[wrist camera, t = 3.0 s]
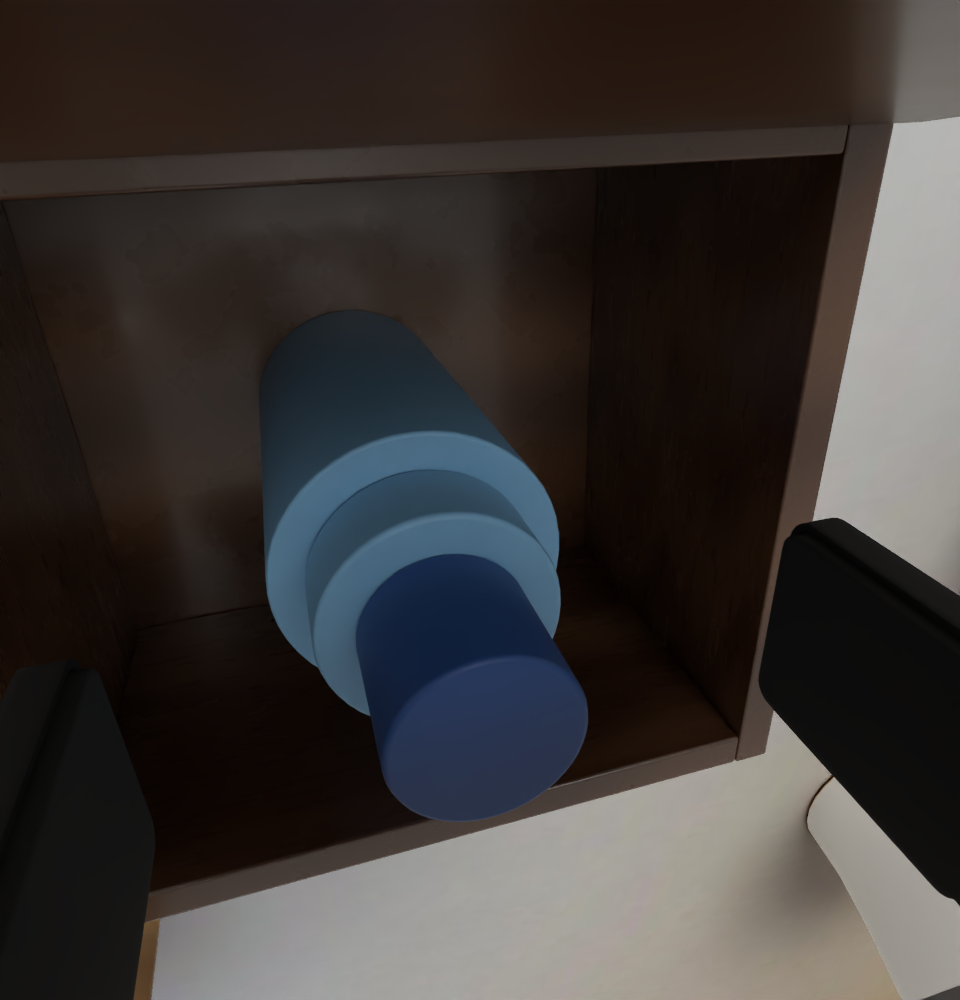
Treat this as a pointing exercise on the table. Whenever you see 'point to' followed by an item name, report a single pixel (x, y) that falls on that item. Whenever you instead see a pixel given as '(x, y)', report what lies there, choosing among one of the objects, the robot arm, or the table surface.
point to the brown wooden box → (492, 387)
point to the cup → (889, 896)
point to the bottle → (416, 567)
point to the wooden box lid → (455, 71)
